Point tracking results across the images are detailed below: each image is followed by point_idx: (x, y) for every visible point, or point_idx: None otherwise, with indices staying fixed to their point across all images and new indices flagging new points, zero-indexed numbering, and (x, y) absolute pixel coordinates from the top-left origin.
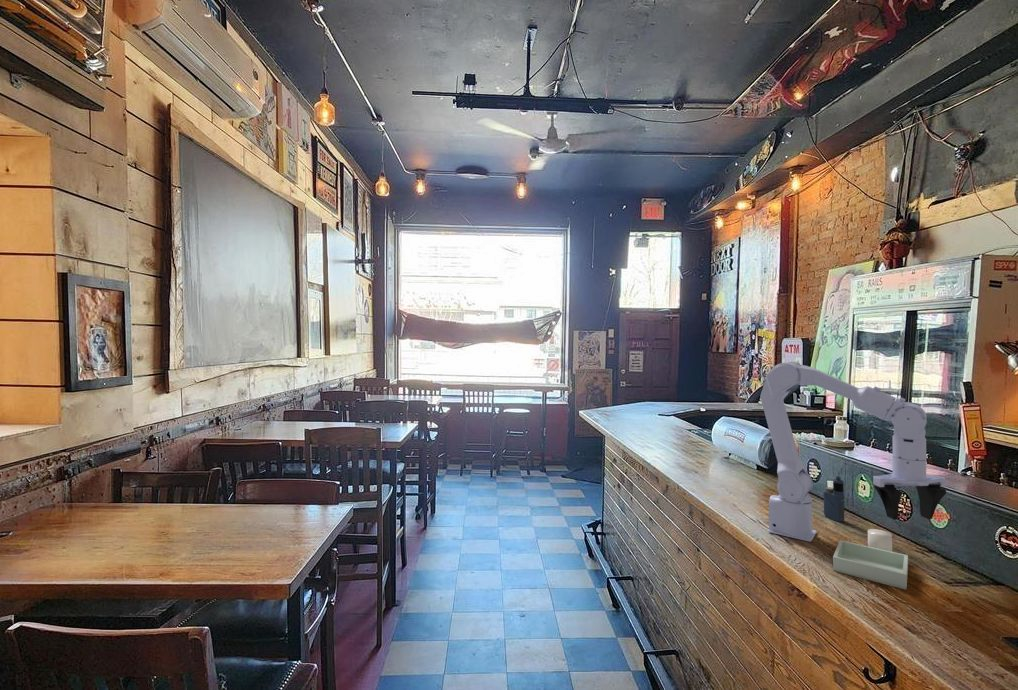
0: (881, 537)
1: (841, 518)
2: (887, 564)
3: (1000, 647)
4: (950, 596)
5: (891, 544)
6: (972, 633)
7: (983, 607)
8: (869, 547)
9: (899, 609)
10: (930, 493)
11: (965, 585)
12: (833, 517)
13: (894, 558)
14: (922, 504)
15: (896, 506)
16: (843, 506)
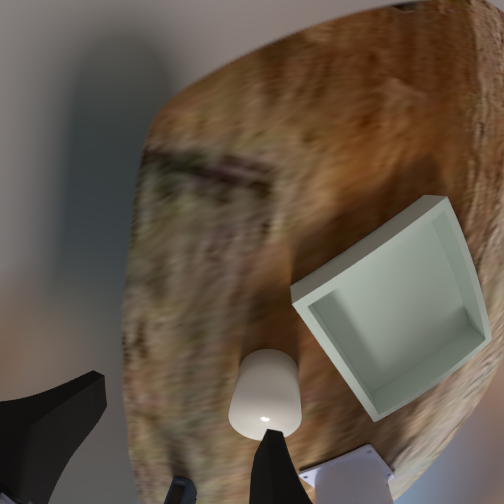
0: (291, 398)
1: (180, 483)
2: (332, 318)
3: (434, 7)
4: (346, 128)
5: (255, 375)
6: (445, 39)
7: (319, 67)
8: (351, 376)
9: (500, 146)
10: (19, 459)
11: (227, 160)
12: (192, 489)
13: (319, 319)
14: (74, 438)
15: (288, 485)
16: (165, 501)
